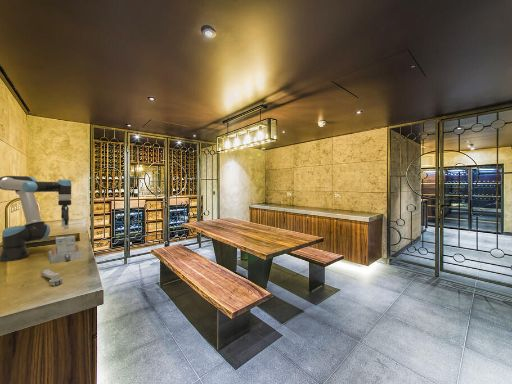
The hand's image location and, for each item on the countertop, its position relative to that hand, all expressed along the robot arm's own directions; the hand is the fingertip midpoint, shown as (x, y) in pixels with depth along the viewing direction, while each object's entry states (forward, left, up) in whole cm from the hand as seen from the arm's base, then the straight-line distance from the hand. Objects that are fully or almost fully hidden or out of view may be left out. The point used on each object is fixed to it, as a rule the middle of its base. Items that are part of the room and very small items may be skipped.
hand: (65, 228), depth 170 cm
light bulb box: (+1, 0, -18) cm, 18 cm away
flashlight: (+48, -11, -23) cm, 54 cm away
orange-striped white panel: (+2, 0, -22) cm, 22 cm away
